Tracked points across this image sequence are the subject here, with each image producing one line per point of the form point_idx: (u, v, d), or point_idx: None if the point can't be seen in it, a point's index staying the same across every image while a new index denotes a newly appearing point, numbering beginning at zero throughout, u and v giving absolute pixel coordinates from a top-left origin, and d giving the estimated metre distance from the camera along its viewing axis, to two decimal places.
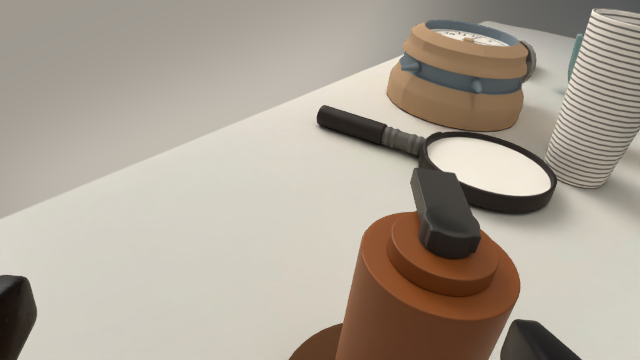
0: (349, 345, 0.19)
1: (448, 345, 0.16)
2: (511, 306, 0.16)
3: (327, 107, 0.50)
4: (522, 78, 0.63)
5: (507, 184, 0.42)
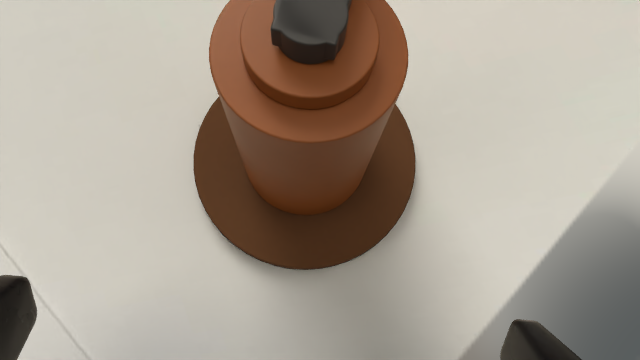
0: None
1: (285, 154, 0.14)
2: (363, 129, 0.14)
3: None
4: None
5: None
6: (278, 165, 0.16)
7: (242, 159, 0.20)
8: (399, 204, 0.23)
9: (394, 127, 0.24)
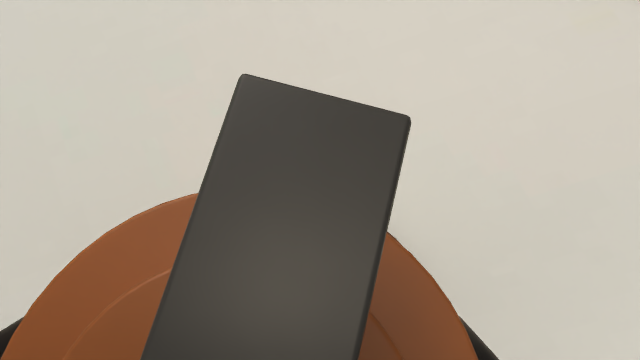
0: None
1: None
2: None
3: None
4: None
5: None
6: None
7: None
8: None
9: None
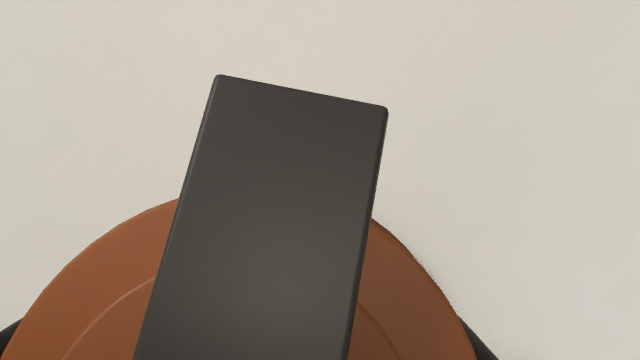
0: None
1: None
2: None
3: None
4: None
5: None
6: None
7: None
8: None
9: None
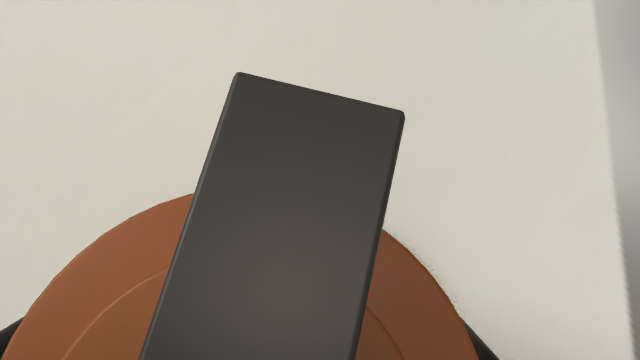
0: None
1: None
2: None
3: None
4: None
5: None
6: None
7: None
8: None
9: None
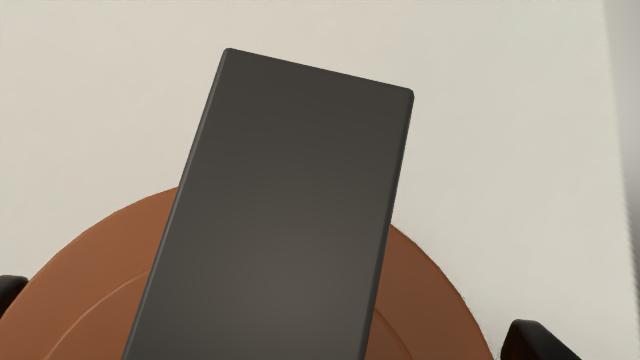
0: None
1: None
2: None
3: None
4: None
5: None
6: None
7: None
8: None
9: None
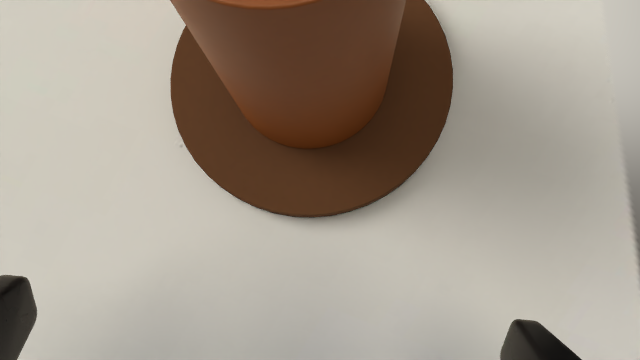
0: None
1: (263, 42, 0.09)
2: None
3: None
4: None
5: None
6: (260, 67, 0.11)
7: None
8: (436, 33, 0.18)
9: None
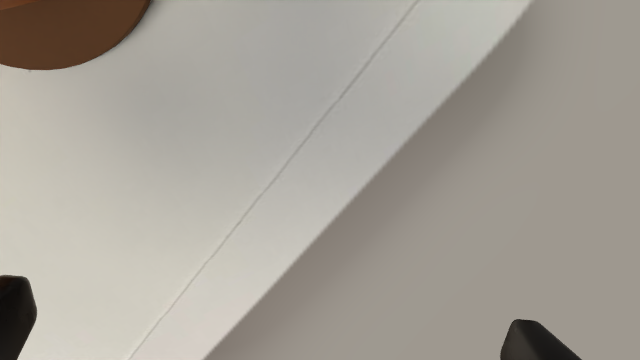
0: None
1: None
2: None
3: None
4: None
5: None
6: None
7: None
8: None
9: None
